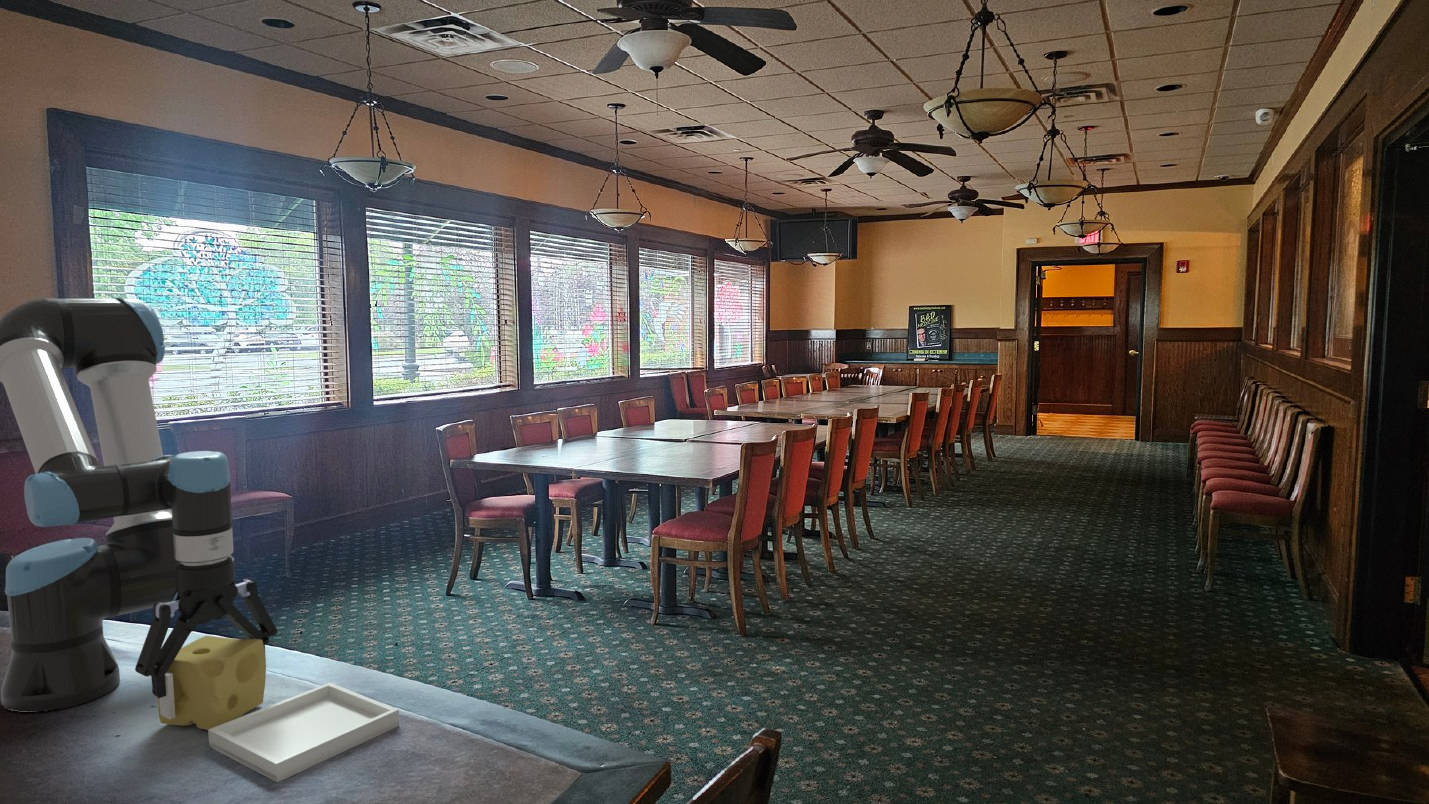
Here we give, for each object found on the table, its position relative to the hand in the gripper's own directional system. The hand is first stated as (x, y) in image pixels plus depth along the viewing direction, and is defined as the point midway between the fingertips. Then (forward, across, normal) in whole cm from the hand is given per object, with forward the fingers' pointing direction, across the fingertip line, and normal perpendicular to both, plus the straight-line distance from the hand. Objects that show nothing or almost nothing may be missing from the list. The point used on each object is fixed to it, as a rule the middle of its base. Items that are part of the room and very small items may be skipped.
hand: (213, 699), depth 134 cm
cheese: (+2, 0, 0) cm, 2 cm away
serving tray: (+2, +4, -17) cm, 18 cm away
